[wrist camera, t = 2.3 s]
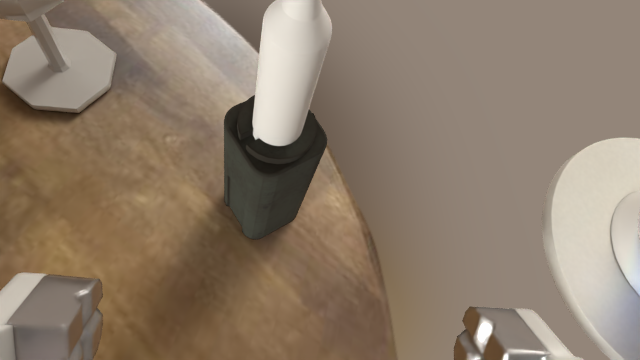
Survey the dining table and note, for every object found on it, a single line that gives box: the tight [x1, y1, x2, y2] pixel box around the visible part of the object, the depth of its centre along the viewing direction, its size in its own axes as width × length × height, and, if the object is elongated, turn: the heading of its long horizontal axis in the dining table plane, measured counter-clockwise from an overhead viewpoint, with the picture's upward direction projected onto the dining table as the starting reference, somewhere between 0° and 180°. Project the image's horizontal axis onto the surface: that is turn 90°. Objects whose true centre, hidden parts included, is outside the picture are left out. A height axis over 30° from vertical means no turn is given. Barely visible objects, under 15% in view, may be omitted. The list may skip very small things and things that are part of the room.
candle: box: [224, 0, 332, 239], centre depth 27 cm, size 5×5×25 cm
